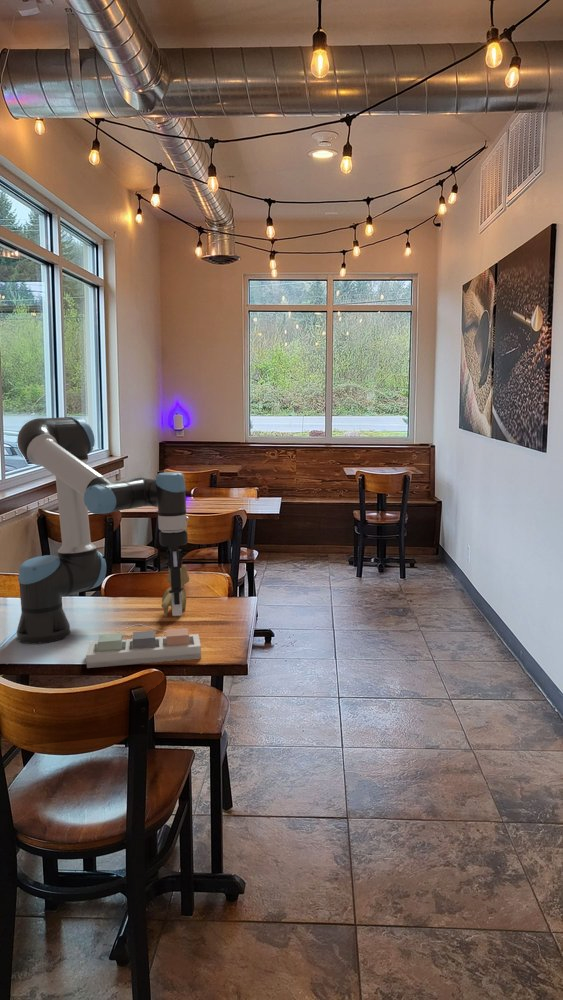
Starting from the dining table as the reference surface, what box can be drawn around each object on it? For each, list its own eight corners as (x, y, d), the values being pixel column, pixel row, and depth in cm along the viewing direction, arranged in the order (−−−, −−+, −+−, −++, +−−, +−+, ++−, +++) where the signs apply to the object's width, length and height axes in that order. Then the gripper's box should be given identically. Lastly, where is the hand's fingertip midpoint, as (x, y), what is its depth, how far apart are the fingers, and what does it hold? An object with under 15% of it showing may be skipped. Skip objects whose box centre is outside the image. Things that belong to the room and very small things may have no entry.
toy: (193, 604, 239) (191, 561, 237) (175, 627, 215) (173, 580, 213) (172, 603, 240) (170, 561, 237) (152, 627, 216) (150, 579, 213)
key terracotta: (166, 645, 189) (166, 636, 188) (166, 637, 195) (166, 629, 194) (189, 643, 190) (188, 634, 189) (188, 636, 196) (187, 627, 195)
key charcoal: (132, 647, 187) (132, 639, 187) (133, 640, 193) (133, 632, 193) (155, 646, 188) (155, 637, 188) (155, 638, 194) (155, 630, 194)
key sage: (98, 650, 185) (97, 642, 185) (99, 642, 191) (99, 634, 191) (121, 648, 187) (121, 640, 186) (122, 641, 192) (121, 632, 192)
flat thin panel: (146, 641, 203) (115, 631, 212) (147, 643, 203) (115, 632, 212) (170, 633, 209) (138, 623, 219) (170, 634, 210) (138, 625, 219)
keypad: (86, 668, 184) (86, 655, 183) (90, 654, 193) (89, 642, 193) (201, 658, 189) (200, 646, 188) (198, 645, 199) (198, 633, 198)
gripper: (188, 533, 182) (192, 620, 185) (185, 525, 195) (189, 606, 198) (159, 535, 181) (164, 623, 184) (158, 526, 193) (163, 609, 197)
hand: (177, 614), depth 191 cm, fingers closed
